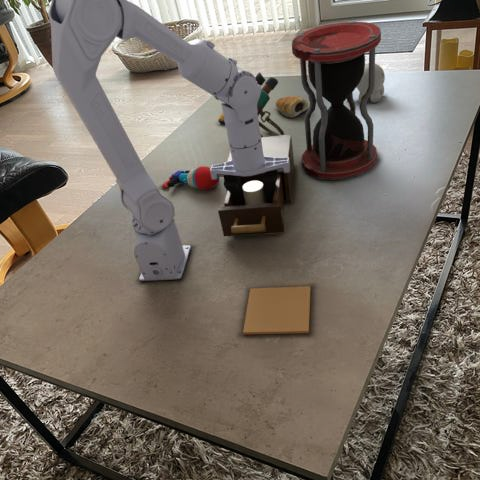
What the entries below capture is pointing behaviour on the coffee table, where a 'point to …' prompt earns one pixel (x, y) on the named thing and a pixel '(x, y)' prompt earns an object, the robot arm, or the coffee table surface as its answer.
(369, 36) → the hourglass
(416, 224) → the coffee table surface
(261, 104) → the binoculars
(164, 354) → the coffee table surface
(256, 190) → the cream cylinder
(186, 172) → the toy figure
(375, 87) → the round bodied animal figurine
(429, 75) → the coffee table surface
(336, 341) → the coffee table surface
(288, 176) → the cabinet
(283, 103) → the pastry
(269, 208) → the drawer
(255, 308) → the cork mat
